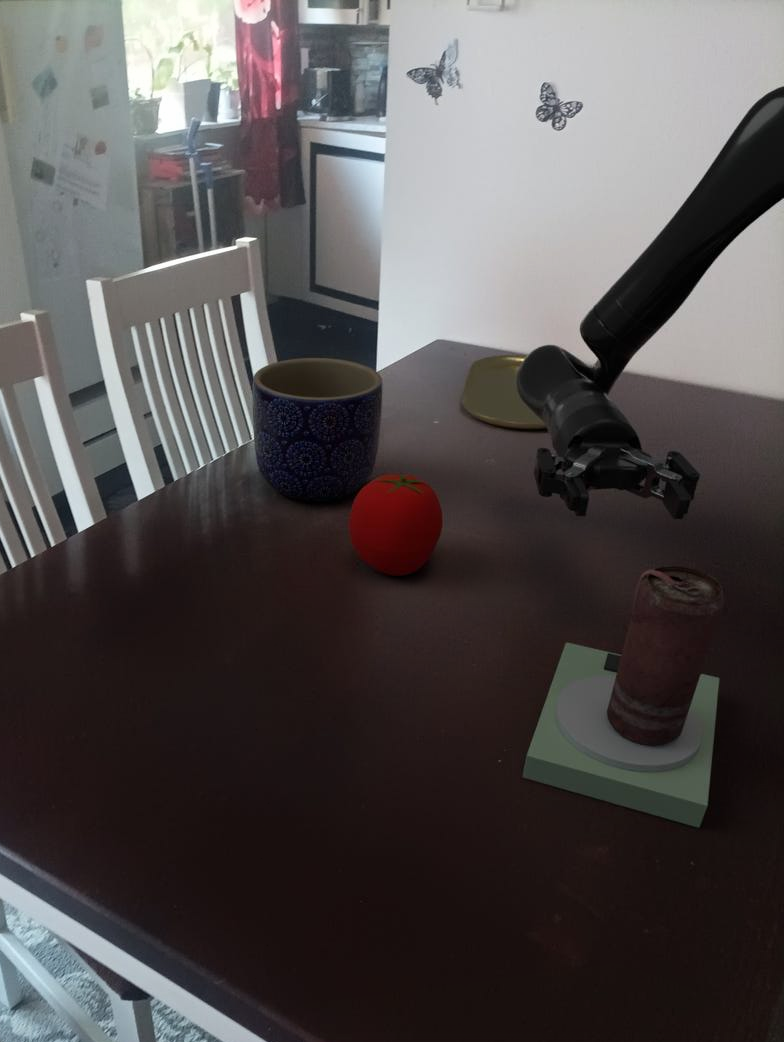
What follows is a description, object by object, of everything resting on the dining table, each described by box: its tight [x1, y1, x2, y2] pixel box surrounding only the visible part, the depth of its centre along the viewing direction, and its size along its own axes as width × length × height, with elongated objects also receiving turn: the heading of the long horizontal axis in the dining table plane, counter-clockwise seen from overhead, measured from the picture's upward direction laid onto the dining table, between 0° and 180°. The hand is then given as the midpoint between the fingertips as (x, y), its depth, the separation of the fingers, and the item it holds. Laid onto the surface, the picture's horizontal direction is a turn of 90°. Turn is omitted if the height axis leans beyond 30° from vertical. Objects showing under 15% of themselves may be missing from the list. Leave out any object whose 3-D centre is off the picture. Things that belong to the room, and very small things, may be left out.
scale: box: [522, 641, 720, 829], centre depth 79 cm, size 18×14×3 cm
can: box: [607, 565, 725, 746], centre depth 72 cm, size 6×6×14 cm
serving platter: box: [460, 354, 547, 431], centre depth 152 cm, size 19×35×2 cm, turn 166°
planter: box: [252, 357, 383, 503], centre depth 118 cm, size 17×17×15 cm
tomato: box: [348, 473, 443, 577], centre depth 101 cm, size 10×11×11 cm
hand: (632, 508), depth 79 cm, fingers open, 8 cm apart
